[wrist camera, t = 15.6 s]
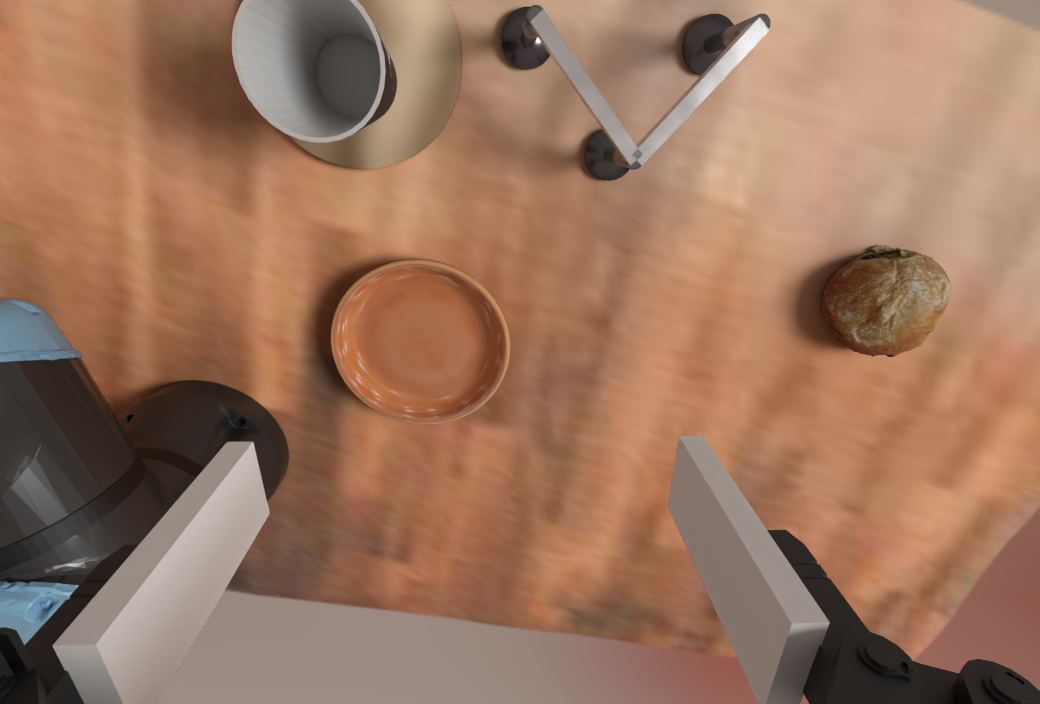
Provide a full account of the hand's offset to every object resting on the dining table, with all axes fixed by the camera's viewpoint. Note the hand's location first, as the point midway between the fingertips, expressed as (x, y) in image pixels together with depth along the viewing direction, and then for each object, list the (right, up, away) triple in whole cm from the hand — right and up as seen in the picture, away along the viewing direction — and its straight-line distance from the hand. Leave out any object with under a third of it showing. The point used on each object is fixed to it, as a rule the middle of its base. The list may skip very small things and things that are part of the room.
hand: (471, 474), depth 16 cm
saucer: (-7, +5, +32) cm, 34 cm away
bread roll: (+35, +9, +33) cm, 49 cm away
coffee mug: (-11, +26, +22) cm, 36 cm away
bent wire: (+9, +24, +25) cm, 35 cm away
